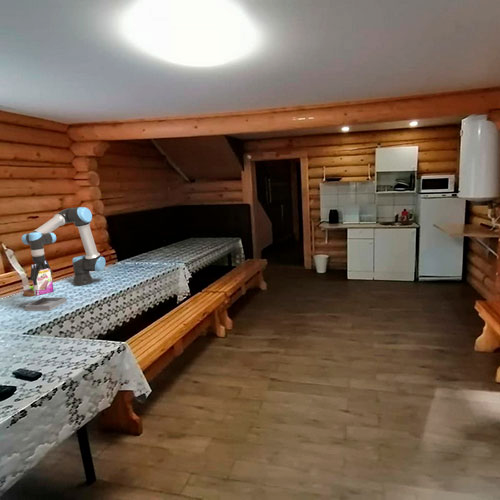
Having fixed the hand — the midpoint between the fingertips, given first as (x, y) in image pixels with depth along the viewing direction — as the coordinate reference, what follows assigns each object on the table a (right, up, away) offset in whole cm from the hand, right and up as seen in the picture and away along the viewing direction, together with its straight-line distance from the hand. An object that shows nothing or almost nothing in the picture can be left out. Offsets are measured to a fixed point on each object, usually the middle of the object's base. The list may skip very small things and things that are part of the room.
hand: (43, 286), depth 260 cm
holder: (+1, -14, +3) cm, 14 cm away
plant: (-27, -9, +41) cm, 50 cm away
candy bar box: (0, -5, +1) cm, 5 cm away
